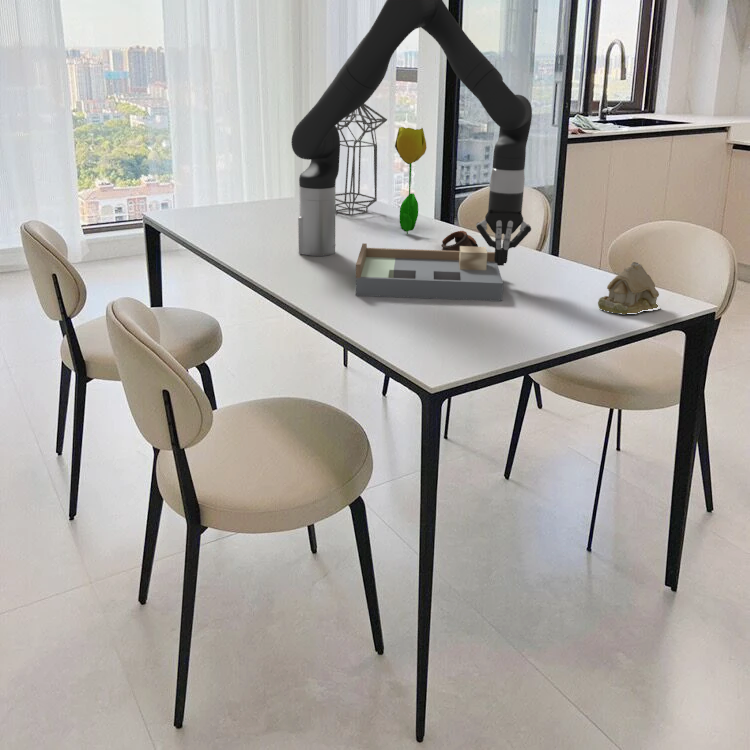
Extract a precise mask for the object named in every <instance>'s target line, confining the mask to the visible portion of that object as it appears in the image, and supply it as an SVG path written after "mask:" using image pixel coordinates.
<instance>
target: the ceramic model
mask: <svg viewBox="0 0 750 750" xmlns="http://www.w3.org/2000/svg"><path fill="white" fill-rule="evenodd" d="M606 287H607V288H606V289H607V290H608V295H604V296H601V297H600V298H598V301H597V305H598V309H599V308H600V309H602V310H605V311H609V312H613V313H622V314H627V313H638V312H640V311H642V310H648V309H653V308H657V307H658V305H659V304H658V303H657V300H658V298H659V296H660V293H659V291H658V290H657V289H656V285H655V282H654V281H653V279H652V277H651V276H650V274H648V273H647V271H646V270H645V268H644V267H643V265H642V264H641V263H639V262H636V261H632V262H631V264H630V267H627V268H624V269H623V271H621V272H620V273H619V274H618V275H616V276H615V277H614V278H612V280H611V281H609V283H608V285H607V286H606ZM656 303H657V304H658V305H657V304H656ZM600 309H599V310H600Z"/></svg>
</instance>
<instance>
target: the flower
mask: <svg viewBox="0 0 750 750" xmlns="http://www.w3.org/2000/svg"><path fill="white" fill-rule="evenodd" d="M423 128H424V127H421V128H419V129H418V128H416V129H415V128H413V127H403V126H400V127H398V131H397V134H396V140H395V144H394V148H395V150H396V151H397V154H398V155H399V158H400V159H402V161H403V162H404V163H406V164H407V165H409V169H408V175H409V177H408V178H409V180H408V195H407V196H406V198H404V200H403V201H402V202H401V205H400V208H399V226H400V229H401V230H402V231H404V232H406V235H409V232H410V231H414V229H415V227H416V224H417V221H418V216H419V202H418V200H417V197H416V196H415V193H414V192H413V193H412V192H411V184H412V183H411V182H412V164H414V163H415V162H417V161H419V160H420V158H422V157H423V156H424V155H425V154H426V151H427V140H426V138H425V132H424V129H423Z"/></svg>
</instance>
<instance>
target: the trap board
mask: <svg viewBox="0 0 750 750" xmlns="http://www.w3.org/2000/svg"><path fill="white" fill-rule="evenodd" d="M367 244H368V243H362V245H361V247H360V251H359V254H358V257H357V260H356V262H355V296H358V297H359V296H361V297H388V298H410V299H411V298H414V299H439V300H465V301H466V300H467V301H469V300H470V301H489V302H501V301H503V290H504V289H503V288H504V282H503V277H502V275H501V272H500V268H499V265H497V263H495V260H494V256H495V251H487V266H486V270H464V269H460V267H459V253H460V251H446V250H442V249H441V250H440V249H439V250H438V249H416V248H415V249H412V248H387V247H384V248H383V247H382V248H381V247H368V246H367Z"/></svg>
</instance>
